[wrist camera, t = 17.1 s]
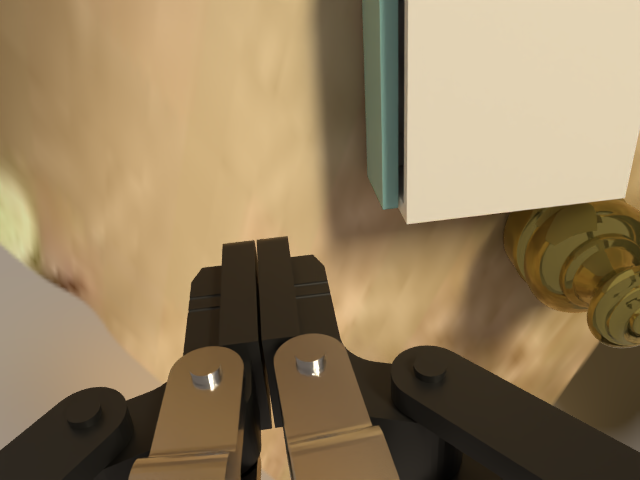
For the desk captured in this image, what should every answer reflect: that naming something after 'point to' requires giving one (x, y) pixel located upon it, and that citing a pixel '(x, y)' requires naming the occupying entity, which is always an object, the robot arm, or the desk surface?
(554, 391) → the desk surface
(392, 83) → the tray
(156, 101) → the desk surface
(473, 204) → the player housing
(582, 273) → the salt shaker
